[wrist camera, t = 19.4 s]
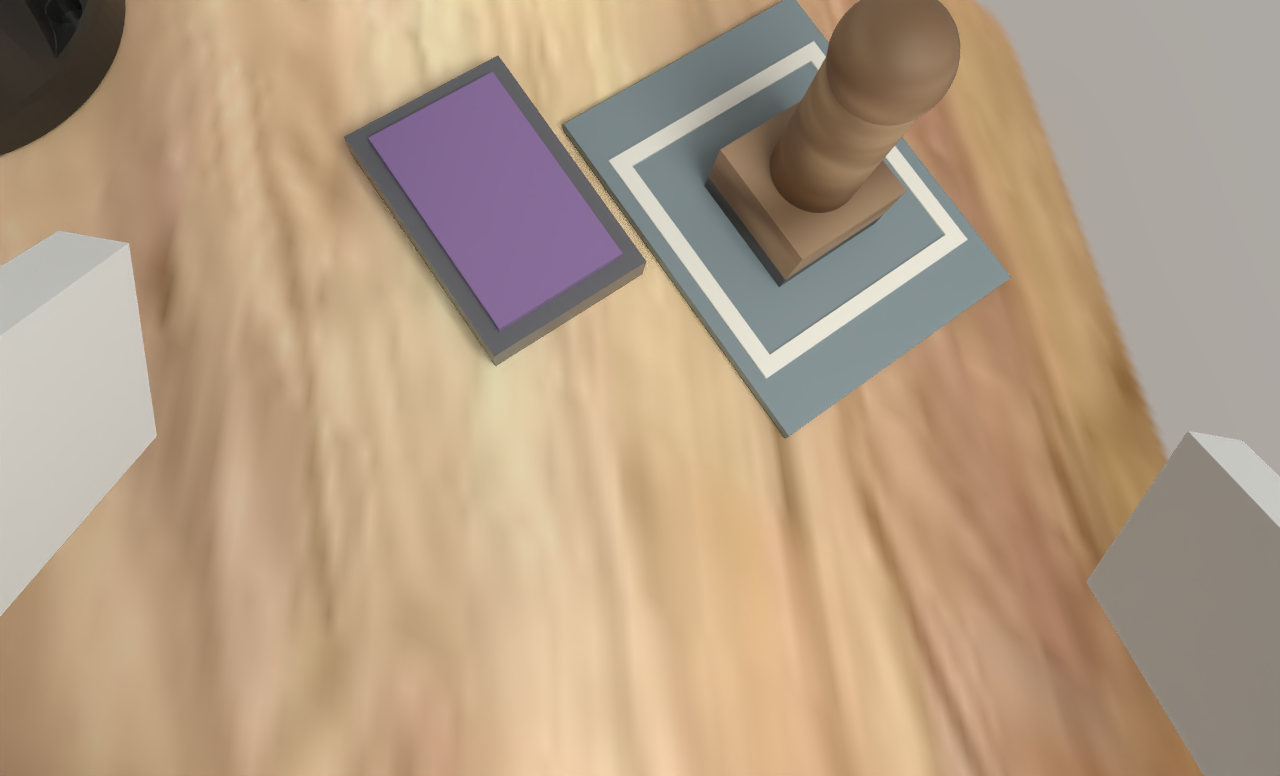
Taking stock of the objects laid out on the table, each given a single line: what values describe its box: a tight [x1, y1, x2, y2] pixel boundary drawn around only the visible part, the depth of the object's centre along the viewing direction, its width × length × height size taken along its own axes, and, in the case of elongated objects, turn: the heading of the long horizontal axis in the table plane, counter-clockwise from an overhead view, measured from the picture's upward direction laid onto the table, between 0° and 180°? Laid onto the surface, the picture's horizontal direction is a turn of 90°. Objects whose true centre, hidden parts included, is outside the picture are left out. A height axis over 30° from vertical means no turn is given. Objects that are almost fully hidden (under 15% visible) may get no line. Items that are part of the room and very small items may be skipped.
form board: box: [563, 0, 1011, 438], centre depth 40 cm, size 18×14×1 cm
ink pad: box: [345, 56, 646, 366], centre depth 37 cm, size 12×8×2 cm, turn 35°
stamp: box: [704, 0, 960, 287], centre depth 33 cm, size 6×6×14 cm
